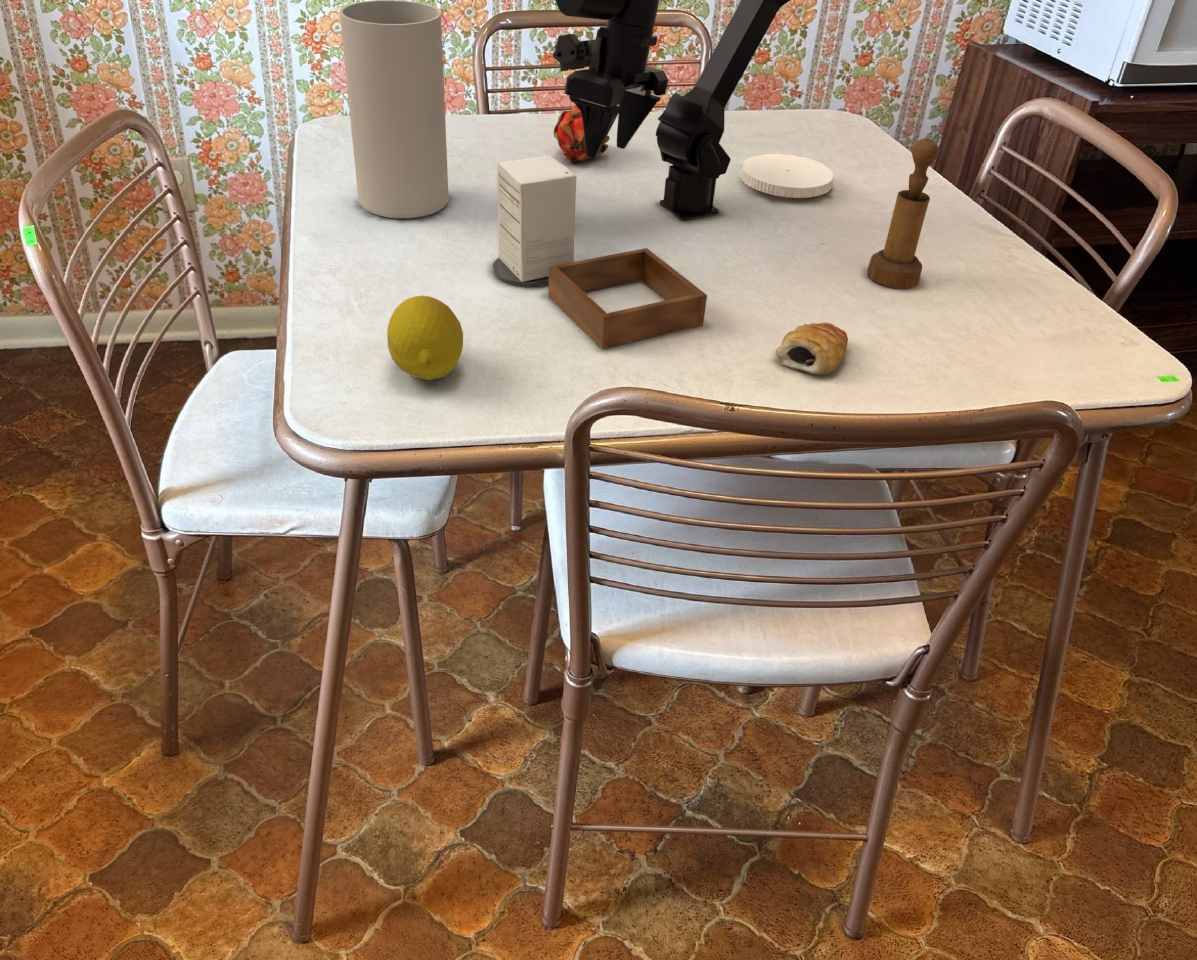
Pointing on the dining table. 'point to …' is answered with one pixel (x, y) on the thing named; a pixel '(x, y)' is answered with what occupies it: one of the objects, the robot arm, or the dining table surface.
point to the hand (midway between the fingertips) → (606, 152)
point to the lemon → (425, 337)
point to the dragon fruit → (573, 135)
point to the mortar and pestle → (905, 226)
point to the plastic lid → (787, 175)
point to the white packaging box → (535, 215)
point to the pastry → (813, 348)
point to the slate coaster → (509, 277)
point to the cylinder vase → (396, 106)
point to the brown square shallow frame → (632, 323)
